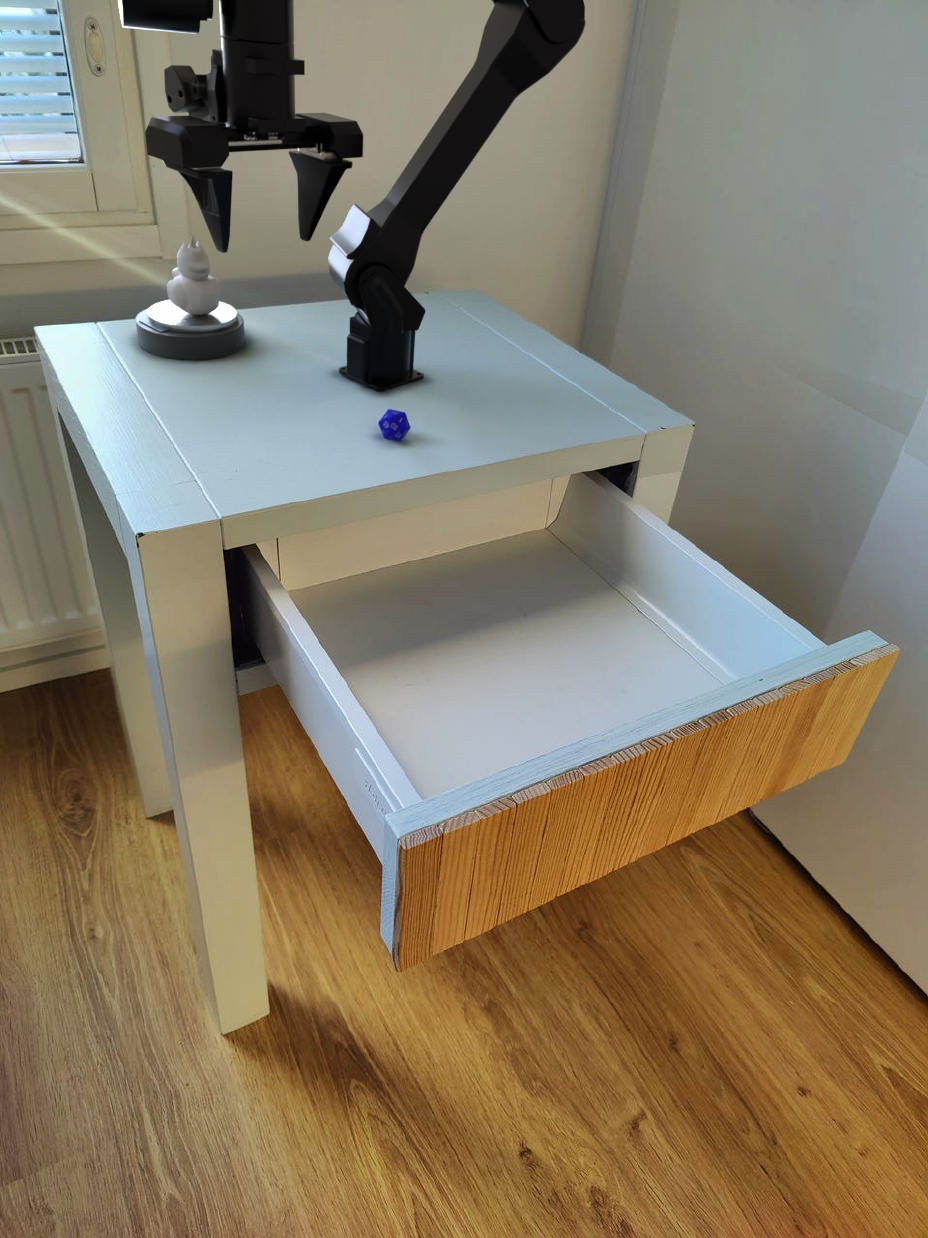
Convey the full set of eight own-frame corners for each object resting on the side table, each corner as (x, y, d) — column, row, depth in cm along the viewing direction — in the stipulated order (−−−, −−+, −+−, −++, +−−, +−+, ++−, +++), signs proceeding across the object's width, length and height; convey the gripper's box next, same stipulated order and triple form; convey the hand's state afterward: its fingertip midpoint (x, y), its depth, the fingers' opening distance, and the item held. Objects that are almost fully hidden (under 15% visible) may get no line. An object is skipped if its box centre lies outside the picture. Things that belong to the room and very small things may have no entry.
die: (383, 430, 80) (404, 406, 79) (400, 449, 79) (421, 425, 78) (367, 425, 78) (388, 399, 77) (384, 444, 77) (405, 419, 76)
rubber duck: (187, 324, 88) (178, 241, 84) (156, 305, 92) (147, 225, 87) (234, 316, 92) (229, 236, 87) (203, 298, 95) (196, 220, 90)
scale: (206, 317, 100) (204, 290, 98) (265, 346, 94) (264, 317, 92) (118, 335, 93) (113, 306, 91) (176, 367, 87) (173, 337, 85)
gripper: (287, 32, 79) (290, 215, 88) (95, 22, 67) (122, 235, 77) (370, 48, 74) (364, 242, 83) (177, 40, 62) (195, 267, 71)
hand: (265, 245), depth 78 cm, fingers open, 9 cm apart
